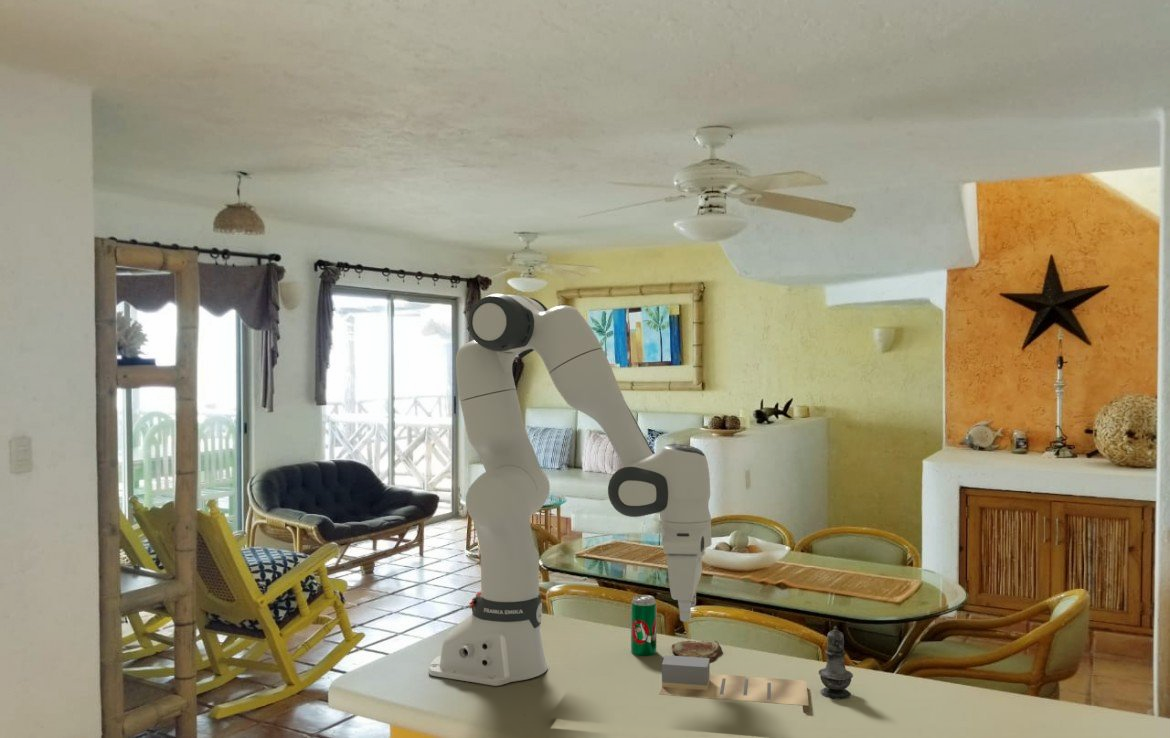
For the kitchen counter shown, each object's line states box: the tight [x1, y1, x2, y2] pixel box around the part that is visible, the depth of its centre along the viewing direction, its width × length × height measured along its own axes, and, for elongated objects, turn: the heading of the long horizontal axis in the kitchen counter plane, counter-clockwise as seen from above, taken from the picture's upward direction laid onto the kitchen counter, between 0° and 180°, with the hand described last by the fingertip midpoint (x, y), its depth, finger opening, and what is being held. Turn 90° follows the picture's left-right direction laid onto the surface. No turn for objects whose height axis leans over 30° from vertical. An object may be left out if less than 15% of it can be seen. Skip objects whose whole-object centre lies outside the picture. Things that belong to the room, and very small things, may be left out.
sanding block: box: [661, 654, 711, 690], centre depth 154 cm, size 8×5×4 cm, turn 78°
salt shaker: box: [818, 625, 854, 700], centre depth 152 cm, size 6×6×12 cm
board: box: [659, 673, 810, 714], centre depth 152 cm, size 25×12×1 cm, turn 78°
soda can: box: [630, 594, 657, 657], centre depth 172 cm, size 5×5×12 cm
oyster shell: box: [671, 640, 723, 663], centre depth 172 cm, size 13×10×3 cm
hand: (688, 613), depth 154 cm, fingers open, 8 cm apart
